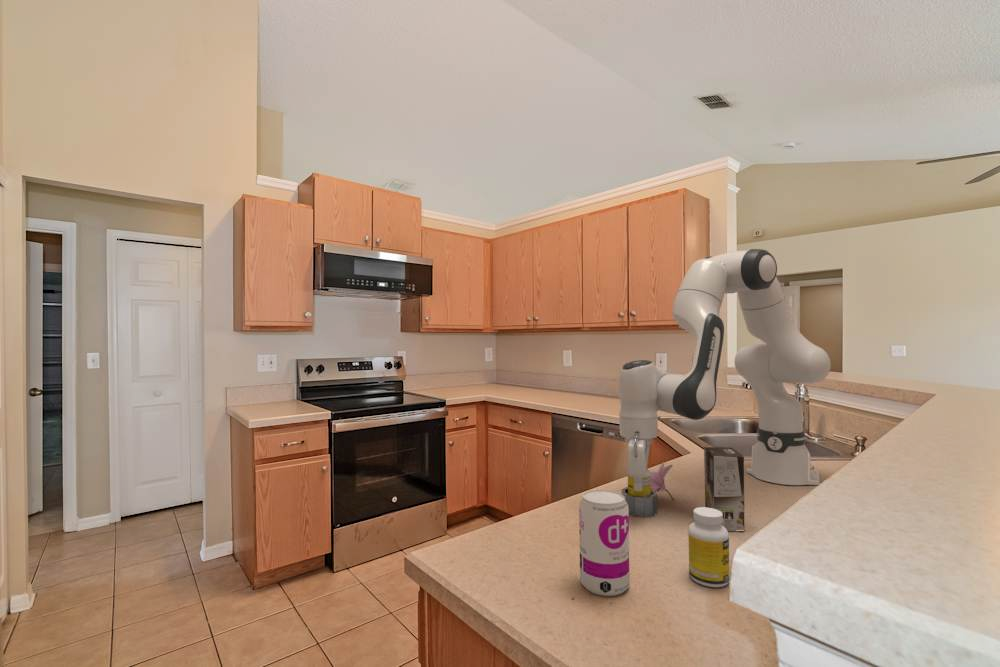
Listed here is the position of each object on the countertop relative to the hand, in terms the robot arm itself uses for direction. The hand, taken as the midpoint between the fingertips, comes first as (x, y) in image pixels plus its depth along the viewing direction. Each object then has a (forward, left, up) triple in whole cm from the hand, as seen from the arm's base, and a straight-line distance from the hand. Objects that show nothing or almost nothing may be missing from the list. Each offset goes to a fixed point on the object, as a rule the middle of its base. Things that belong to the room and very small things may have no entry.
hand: (639, 485), depth 115 cm
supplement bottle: (0, 0, -4) cm, 4 cm away
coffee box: (-6, +17, -6) cm, 19 cm away
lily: (-9, 0, -6) cm, 11 cm away
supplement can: (+35, +12, -6) cm, 38 cm away
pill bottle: (+21, +24, -6) cm, 33 cm away
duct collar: (0, 0, -6) cm, 6 cm away
